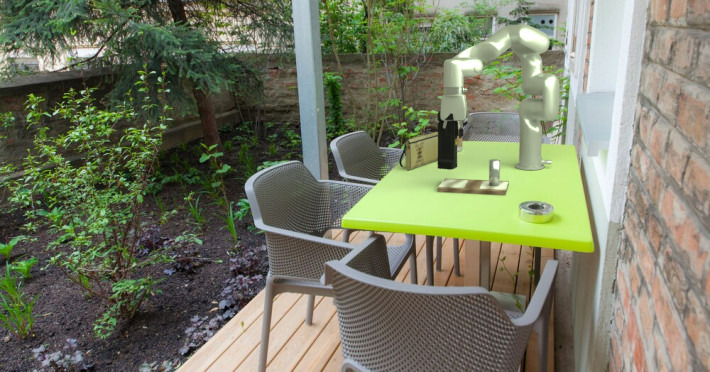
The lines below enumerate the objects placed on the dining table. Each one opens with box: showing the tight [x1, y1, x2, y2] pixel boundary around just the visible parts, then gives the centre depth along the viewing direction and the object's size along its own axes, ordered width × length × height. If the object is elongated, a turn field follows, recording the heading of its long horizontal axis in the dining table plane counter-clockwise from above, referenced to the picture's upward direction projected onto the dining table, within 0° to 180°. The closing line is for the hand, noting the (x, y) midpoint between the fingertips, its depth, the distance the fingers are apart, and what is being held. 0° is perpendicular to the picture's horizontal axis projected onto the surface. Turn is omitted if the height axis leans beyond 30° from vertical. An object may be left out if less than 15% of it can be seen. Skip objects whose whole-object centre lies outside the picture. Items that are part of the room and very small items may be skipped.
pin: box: [488, 158, 501, 186], centre depth 196 cm, size 4×4×10 cm
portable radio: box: [436, 105, 459, 171], centre depth 199 cm, size 8×6×25 cm
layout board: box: [437, 178, 510, 196], centre depth 200 cm, size 26×16×2 cm, turn 69°
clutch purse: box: [398, 131, 438, 171], centre depth 243 cm, size 30×7×15 cm, turn 139°
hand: (453, 137), depth 198 cm, fingers open, 4 cm apart
